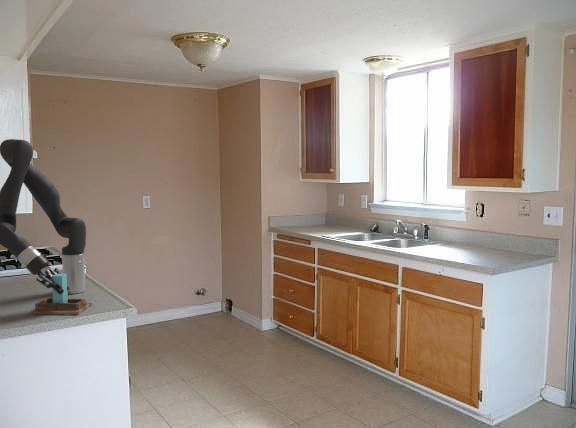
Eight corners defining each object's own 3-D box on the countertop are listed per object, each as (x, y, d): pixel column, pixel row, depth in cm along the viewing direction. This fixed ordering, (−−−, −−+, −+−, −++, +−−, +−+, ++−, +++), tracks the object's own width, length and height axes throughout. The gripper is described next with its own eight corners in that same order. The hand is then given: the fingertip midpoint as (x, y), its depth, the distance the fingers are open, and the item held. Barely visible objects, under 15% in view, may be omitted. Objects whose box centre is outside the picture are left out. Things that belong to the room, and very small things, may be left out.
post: (57, 303, 206) (56, 273, 204) (67, 303, 206) (66, 273, 204) (53, 306, 202) (51, 276, 200) (63, 306, 202) (62, 276, 200)
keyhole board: (47, 304, 210) (47, 296, 210) (91, 305, 210) (91, 296, 210) (31, 314, 198) (31, 305, 197) (78, 314, 197) (77, 305, 197)
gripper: (30, 257, 195) (63, 289, 196) (48, 250, 209) (79, 280, 210) (16, 270, 195) (49, 302, 196) (36, 263, 209) (67, 293, 210)
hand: (65, 291), depth 203 cm, fingers closed on post, 4 cm apart
